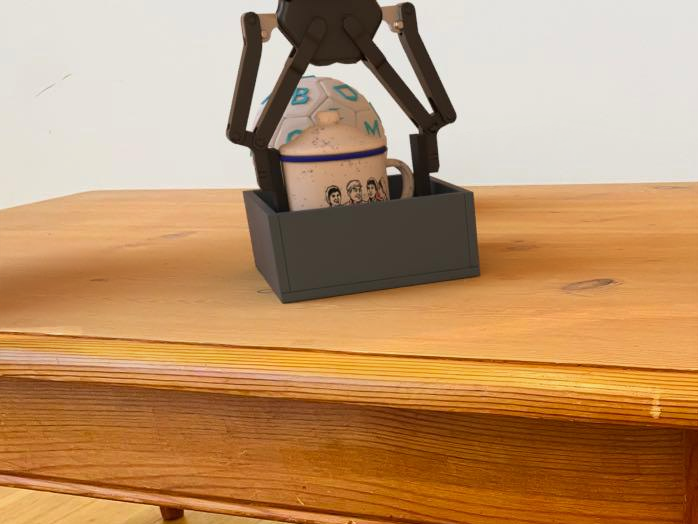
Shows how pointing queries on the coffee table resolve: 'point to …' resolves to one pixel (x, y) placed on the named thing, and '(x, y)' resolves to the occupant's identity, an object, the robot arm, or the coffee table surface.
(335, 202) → the teacup with lid
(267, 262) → the bin
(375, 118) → the puzzle ball
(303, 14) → the robot arm
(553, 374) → the coffee table surface
